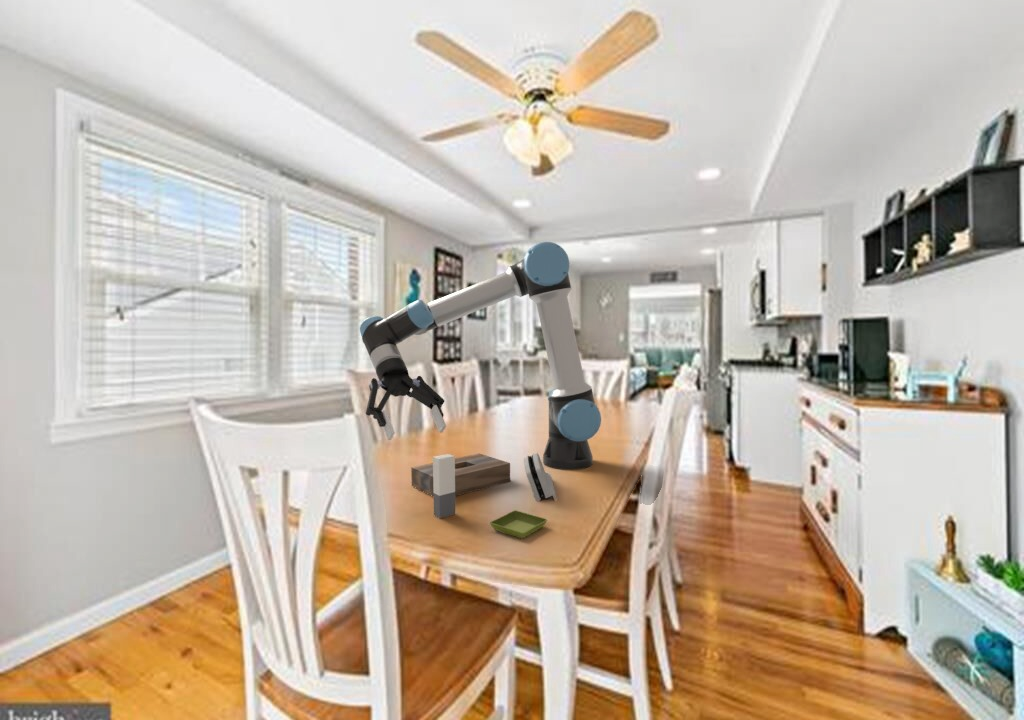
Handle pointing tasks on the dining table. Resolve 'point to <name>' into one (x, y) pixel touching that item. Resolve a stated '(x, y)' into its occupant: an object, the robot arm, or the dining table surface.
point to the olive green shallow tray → (518, 524)
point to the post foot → (465, 474)
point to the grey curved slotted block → (538, 478)
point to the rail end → (444, 485)
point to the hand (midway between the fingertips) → (418, 432)
